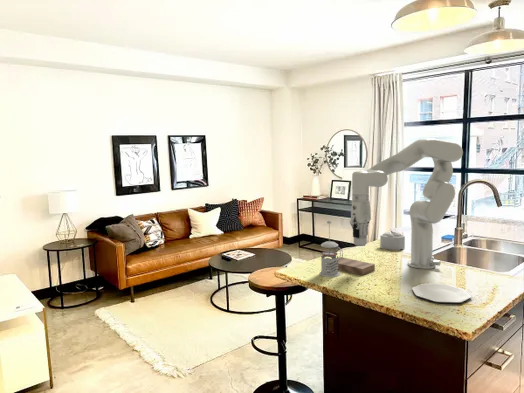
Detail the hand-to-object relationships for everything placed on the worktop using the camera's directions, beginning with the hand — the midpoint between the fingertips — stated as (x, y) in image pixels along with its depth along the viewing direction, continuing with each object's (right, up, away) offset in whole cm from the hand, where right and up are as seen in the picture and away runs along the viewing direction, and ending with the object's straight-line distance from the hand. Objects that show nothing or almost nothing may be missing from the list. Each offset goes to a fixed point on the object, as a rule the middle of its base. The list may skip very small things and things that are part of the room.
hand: (360, 235), depth 181 cm
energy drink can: (0, -5, +1) cm, 5 cm away
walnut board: (-3, -16, +5) cm, 17 cm away
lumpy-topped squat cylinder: (+30, -11, +43) cm, 53 cm away
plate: (+23, -20, -32) cm, 44 cm away
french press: (-14, -18, -2) cm, 22 cm away
